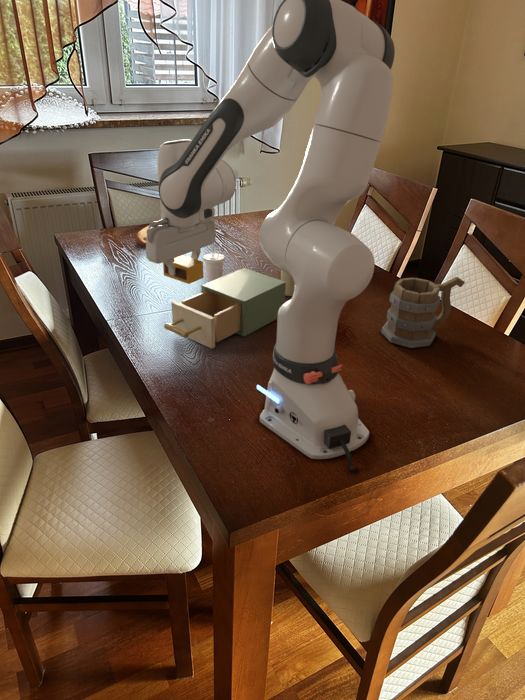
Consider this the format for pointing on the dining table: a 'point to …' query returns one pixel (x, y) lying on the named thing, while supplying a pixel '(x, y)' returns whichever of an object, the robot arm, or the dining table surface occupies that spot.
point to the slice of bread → (142, 236)
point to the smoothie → (213, 265)
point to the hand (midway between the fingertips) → (183, 270)
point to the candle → (288, 283)
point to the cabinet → (251, 296)
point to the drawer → (206, 318)
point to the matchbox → (186, 269)
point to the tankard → (417, 311)
